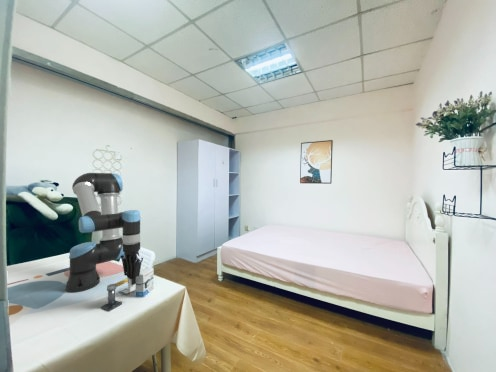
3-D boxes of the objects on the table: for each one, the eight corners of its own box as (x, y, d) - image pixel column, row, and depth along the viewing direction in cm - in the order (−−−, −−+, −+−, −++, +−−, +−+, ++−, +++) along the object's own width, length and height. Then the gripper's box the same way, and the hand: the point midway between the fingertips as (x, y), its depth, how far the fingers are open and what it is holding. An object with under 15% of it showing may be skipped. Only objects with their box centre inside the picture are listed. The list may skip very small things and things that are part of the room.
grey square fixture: (101, 308, 96) (100, 291, 95) (113, 301, 101) (113, 285, 101) (109, 311, 93) (109, 294, 93) (122, 304, 99) (121, 287, 98)
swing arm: (105, 290, 96) (105, 286, 96) (138, 275, 112) (138, 271, 112) (110, 292, 95) (110, 287, 95) (143, 276, 111) (143, 272, 111)
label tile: (119, 293, 109) (119, 291, 109) (126, 289, 112) (126, 288, 112) (126, 295, 106) (126, 294, 106) (133, 291, 110) (133, 290, 110)
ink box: (143, 297, 105) (143, 274, 104) (135, 296, 106) (134, 273, 105) (154, 288, 113) (154, 267, 113) (146, 288, 114) (146, 267, 114)
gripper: (147, 242, 100) (148, 289, 101) (129, 238, 106) (129, 284, 106) (133, 246, 94) (134, 297, 94) (115, 242, 99) (115, 291, 99)
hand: (131, 290), depth 100 cm, fingers closed
